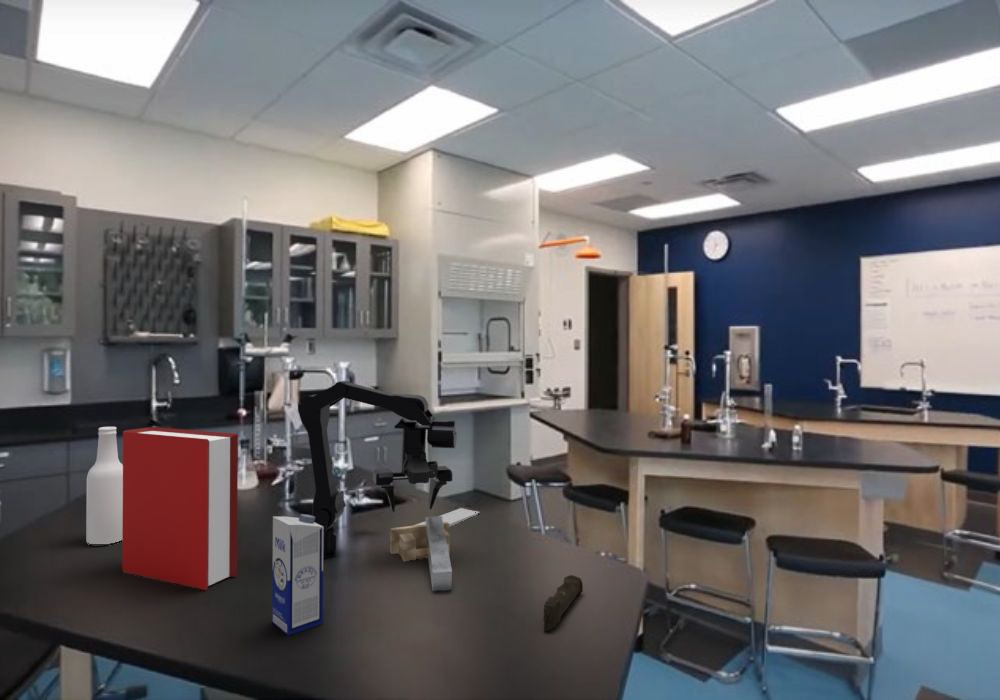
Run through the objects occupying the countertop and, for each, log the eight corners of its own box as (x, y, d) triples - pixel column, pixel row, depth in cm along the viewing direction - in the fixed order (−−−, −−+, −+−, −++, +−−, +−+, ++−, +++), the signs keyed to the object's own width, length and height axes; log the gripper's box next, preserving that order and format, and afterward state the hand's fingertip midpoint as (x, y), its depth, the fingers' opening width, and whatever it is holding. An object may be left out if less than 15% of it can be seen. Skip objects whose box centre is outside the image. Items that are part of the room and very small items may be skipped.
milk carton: (271, 622, 107) (272, 515, 107) (306, 610, 111) (306, 508, 111) (288, 636, 102) (288, 523, 102) (323, 623, 106) (324, 516, 106)
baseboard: (385, 536, 157) (412, 544, 152) (386, 526, 157) (413, 533, 152) (454, 511, 182) (479, 516, 177) (454, 502, 182) (480, 507, 177)
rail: (432, 591, 121) (433, 572, 120) (425, 533, 142) (425, 517, 140) (451, 589, 122) (452, 571, 120) (441, 532, 142) (441, 516, 141)
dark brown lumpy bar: (565, 591, 122) (564, 569, 122) (583, 595, 120) (583, 573, 120) (530, 631, 105) (530, 606, 105) (551, 636, 103) (551, 610, 103)
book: (236, 577, 127) (237, 433, 127) (206, 591, 120) (207, 439, 120) (150, 559, 138) (151, 426, 137) (118, 571, 130) (118, 431, 130)
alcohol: (134, 536, 154) (135, 425, 154) (109, 548, 145) (110, 430, 145) (104, 535, 155) (105, 424, 155) (77, 546, 146) (78, 429, 146)
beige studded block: (396, 562, 137) (396, 537, 137) (390, 552, 144) (390, 528, 144) (456, 554, 142) (456, 530, 142) (447, 544, 149) (447, 521, 149)
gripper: (380, 454, 129) (378, 523, 130) (459, 451, 136) (457, 516, 136) (373, 445, 140) (371, 509, 140) (447, 443, 147) (445, 504, 147)
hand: (411, 510), depth 140 cm, fingers open, 9 cm apart
